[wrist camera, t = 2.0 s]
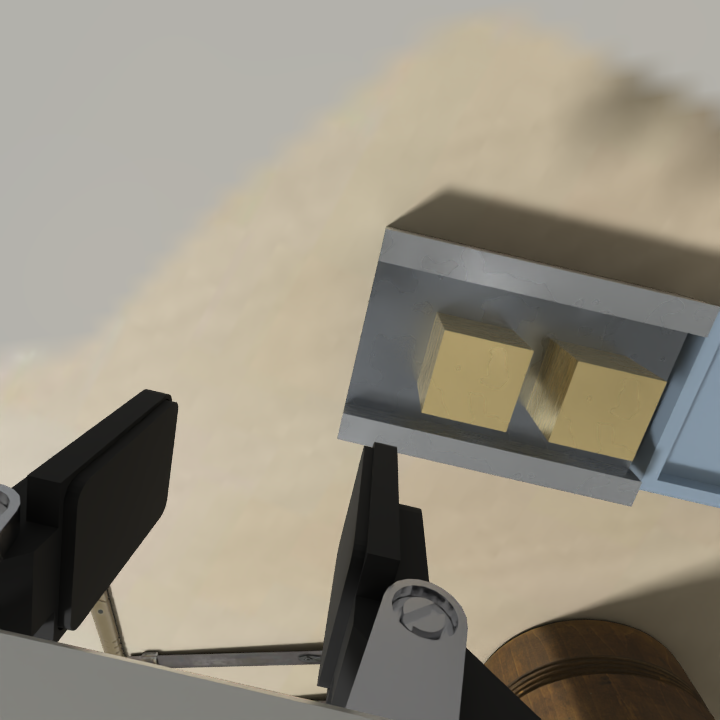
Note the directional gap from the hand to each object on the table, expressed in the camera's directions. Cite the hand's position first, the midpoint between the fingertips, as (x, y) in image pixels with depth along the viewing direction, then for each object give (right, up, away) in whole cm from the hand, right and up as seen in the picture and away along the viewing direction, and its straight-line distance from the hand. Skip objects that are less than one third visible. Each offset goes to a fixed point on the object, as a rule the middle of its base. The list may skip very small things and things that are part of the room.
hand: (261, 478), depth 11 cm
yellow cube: (+8, +3, +15) cm, 17 cm away
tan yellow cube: (+14, +2, +15) cm, 20 cm away
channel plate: (+10, +3, +17) cm, 20 cm away
